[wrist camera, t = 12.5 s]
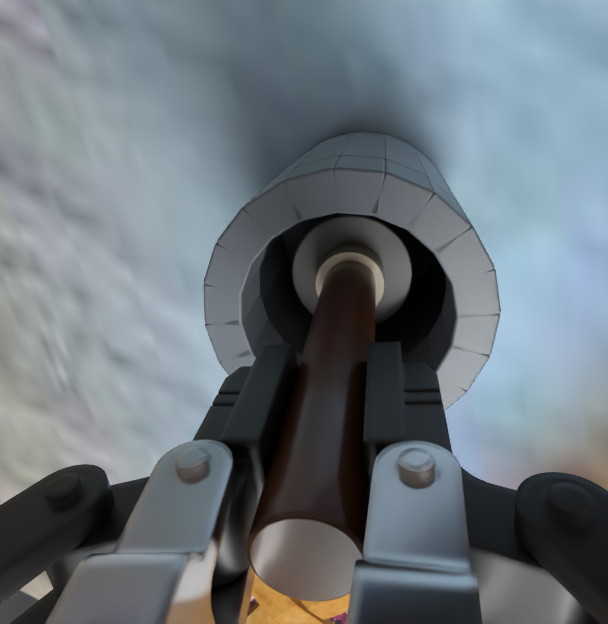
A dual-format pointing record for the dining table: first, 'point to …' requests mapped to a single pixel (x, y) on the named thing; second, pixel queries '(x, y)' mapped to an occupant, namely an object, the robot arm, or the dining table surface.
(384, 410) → the robot arm
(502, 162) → the dining table surface
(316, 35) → the dining table surface
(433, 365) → the grey cup
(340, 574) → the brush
